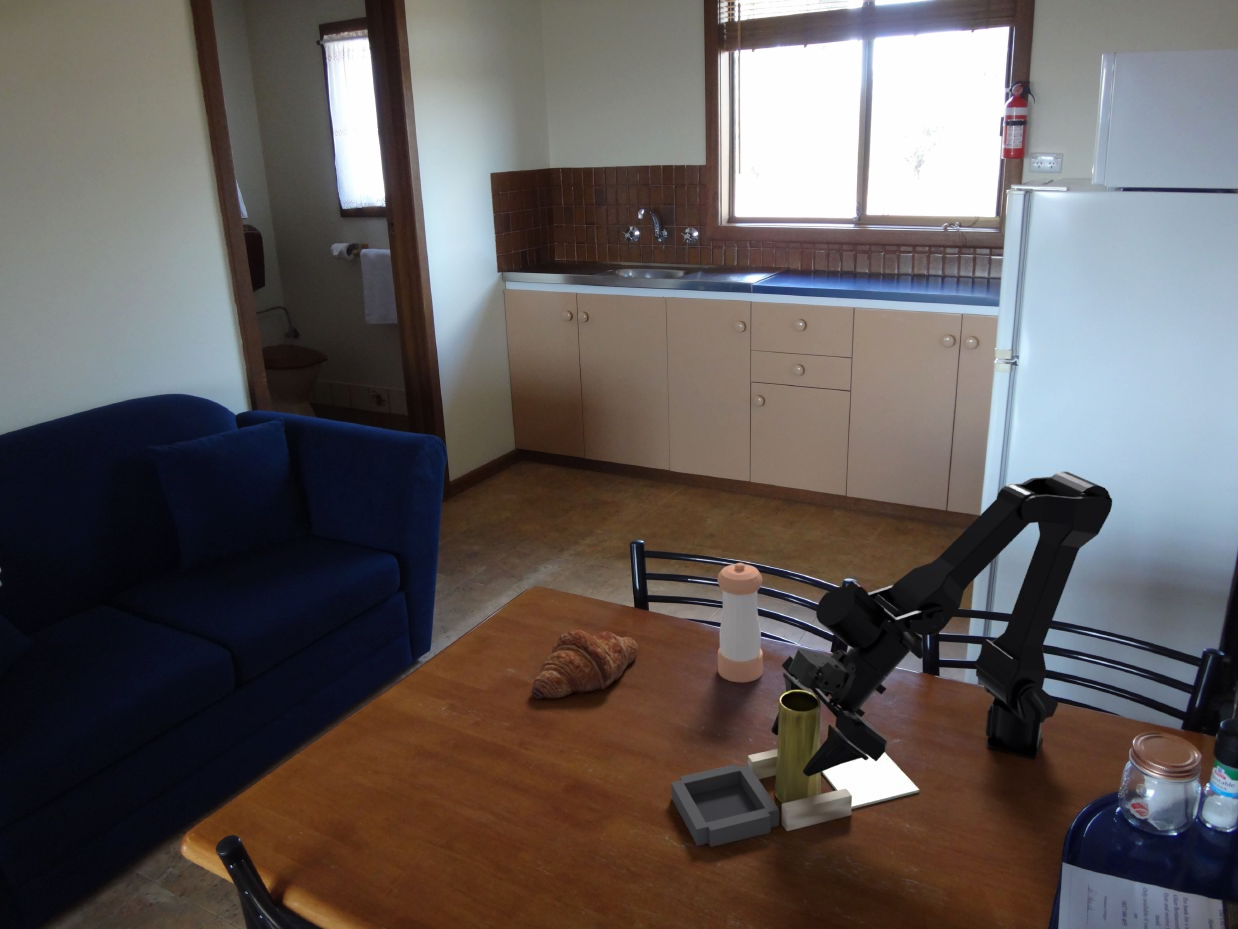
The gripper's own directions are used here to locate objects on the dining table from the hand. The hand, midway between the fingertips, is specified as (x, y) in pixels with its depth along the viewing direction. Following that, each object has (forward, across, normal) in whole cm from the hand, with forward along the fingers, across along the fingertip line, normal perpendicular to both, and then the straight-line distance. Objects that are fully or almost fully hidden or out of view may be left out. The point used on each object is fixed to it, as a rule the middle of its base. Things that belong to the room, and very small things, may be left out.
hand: (789, 753), depth 123 cm
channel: (+4, 0, +6) cm, 7 cm away
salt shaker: (0, -31, +9) cm, 32 cm away
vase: (+4, 0, +6) cm, 7 cm away
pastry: (+17, -39, -7) cm, 43 cm away
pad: (-3, 0, +13) cm, 13 cm away
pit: (+11, 0, -2) cm, 11 cm away
